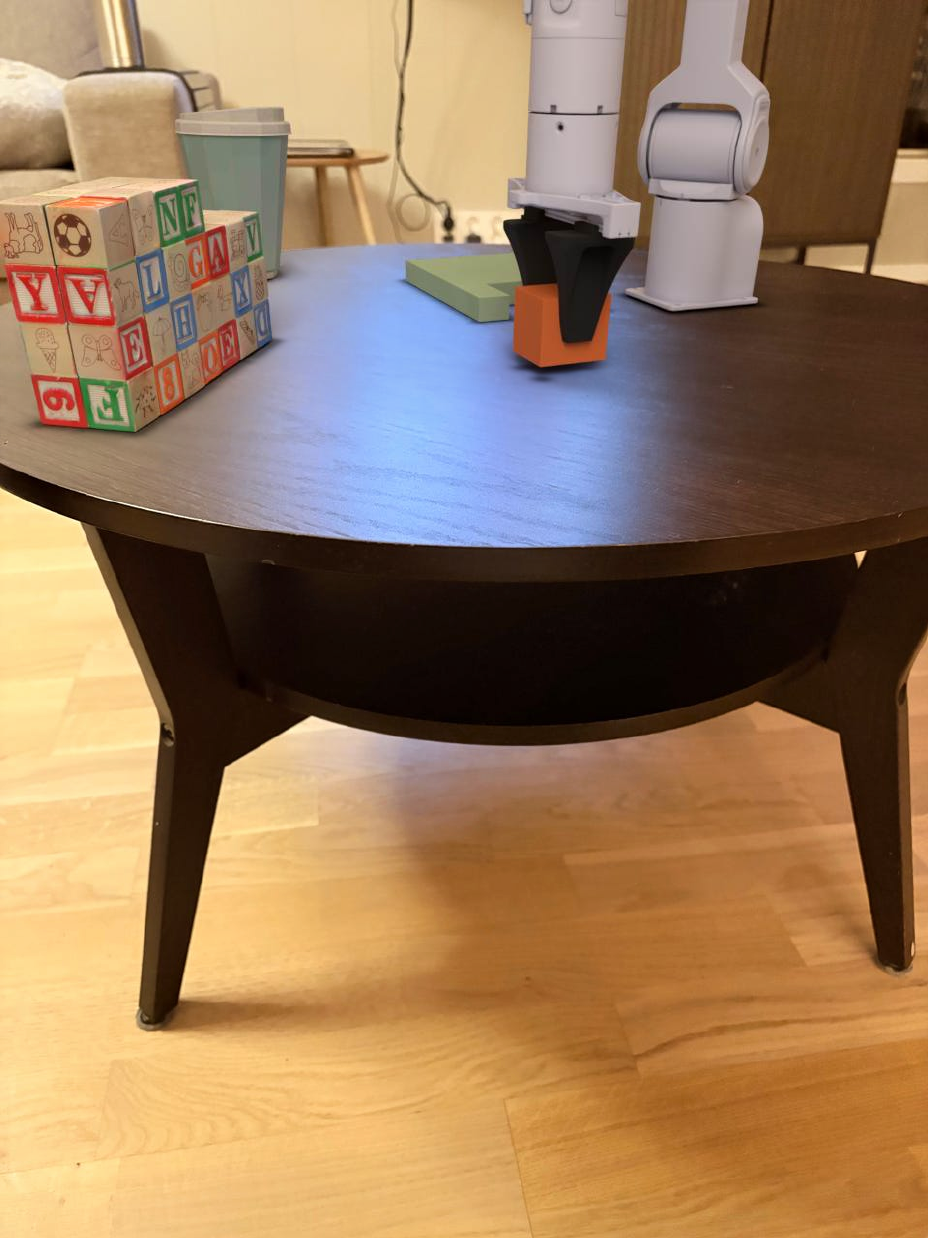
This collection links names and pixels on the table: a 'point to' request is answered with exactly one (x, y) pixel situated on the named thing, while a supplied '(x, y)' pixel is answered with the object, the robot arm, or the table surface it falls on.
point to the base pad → (469, 283)
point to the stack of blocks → (130, 296)
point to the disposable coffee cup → (240, 166)
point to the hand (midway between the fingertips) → (559, 332)
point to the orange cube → (552, 329)
